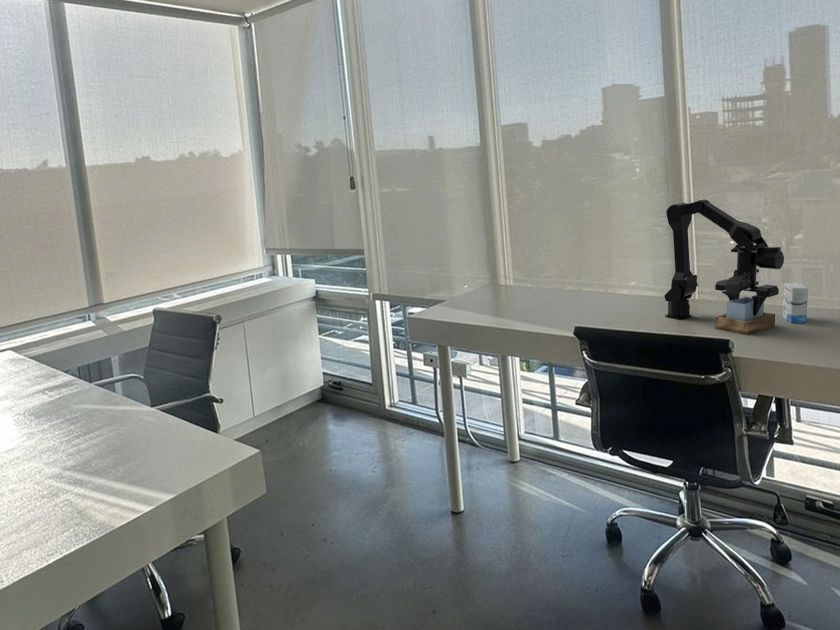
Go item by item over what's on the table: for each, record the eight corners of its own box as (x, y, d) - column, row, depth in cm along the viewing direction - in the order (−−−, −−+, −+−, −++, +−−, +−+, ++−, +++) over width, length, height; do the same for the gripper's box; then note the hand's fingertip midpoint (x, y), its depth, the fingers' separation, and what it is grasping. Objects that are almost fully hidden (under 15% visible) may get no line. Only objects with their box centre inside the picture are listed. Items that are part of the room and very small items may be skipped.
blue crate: (726, 319, 220) (726, 301, 218) (744, 314, 225) (745, 296, 223) (744, 323, 214) (745, 304, 213) (763, 317, 219) (764, 299, 218)
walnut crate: (714, 328, 221) (715, 316, 220) (742, 320, 229) (742, 308, 228) (747, 335, 212) (747, 322, 211) (774, 325, 219) (775, 313, 218)
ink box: (806, 323, 220) (808, 287, 217) (790, 323, 221) (792, 288, 218) (797, 316, 228) (799, 282, 225) (781, 317, 229) (783, 283, 226)
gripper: (705, 267, 219) (703, 314, 223) (759, 273, 204) (757, 323, 207) (726, 262, 225) (724, 307, 228) (780, 268, 209) (778, 316, 213)
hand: (744, 313), depth 219 cm, fingers closed on blue crate, 6 cm apart
